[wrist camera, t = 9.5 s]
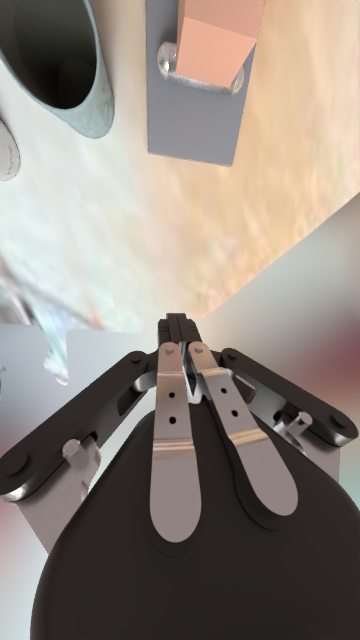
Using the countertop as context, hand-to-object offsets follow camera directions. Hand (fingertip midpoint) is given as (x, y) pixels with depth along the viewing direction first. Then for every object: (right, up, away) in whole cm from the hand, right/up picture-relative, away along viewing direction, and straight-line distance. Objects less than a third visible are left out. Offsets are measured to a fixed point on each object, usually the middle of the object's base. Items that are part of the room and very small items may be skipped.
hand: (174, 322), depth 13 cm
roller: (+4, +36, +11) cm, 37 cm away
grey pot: (-14, +35, +12) cm, 39 cm away
